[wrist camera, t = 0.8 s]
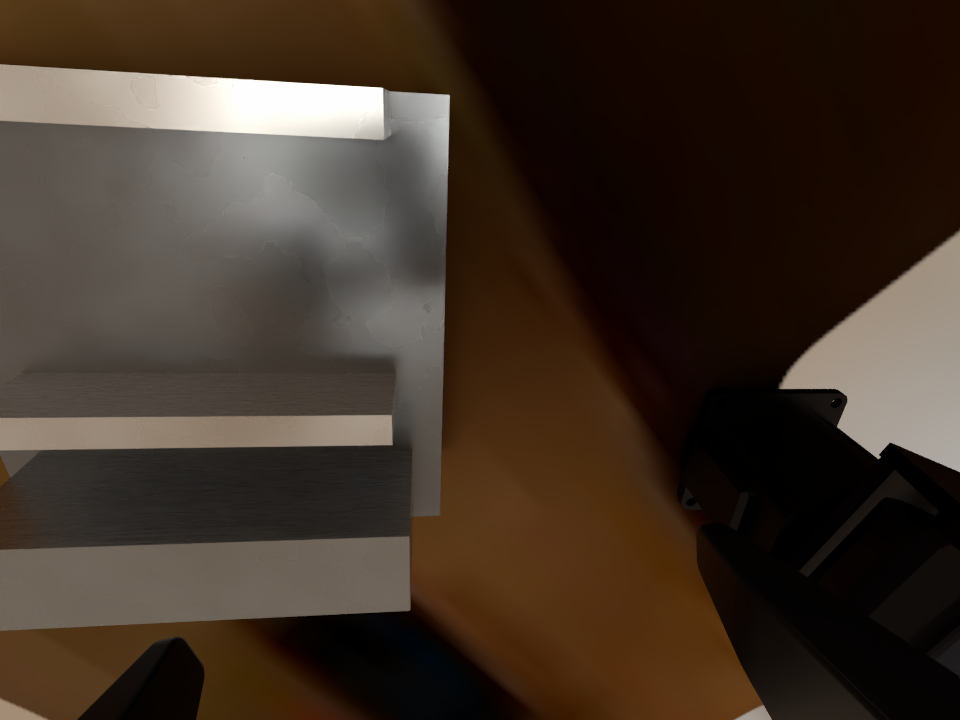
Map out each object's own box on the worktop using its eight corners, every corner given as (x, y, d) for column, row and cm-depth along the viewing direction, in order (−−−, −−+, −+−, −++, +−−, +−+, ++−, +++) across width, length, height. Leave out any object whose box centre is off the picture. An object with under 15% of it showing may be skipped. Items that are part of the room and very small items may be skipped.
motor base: (444, 97, 17) (458, 90, 10) (437, 451, 23) (443, 609, 16) (-32, 69, 15) (-441, 34, 8) (98, 456, 21) (-68, 633, 14)
